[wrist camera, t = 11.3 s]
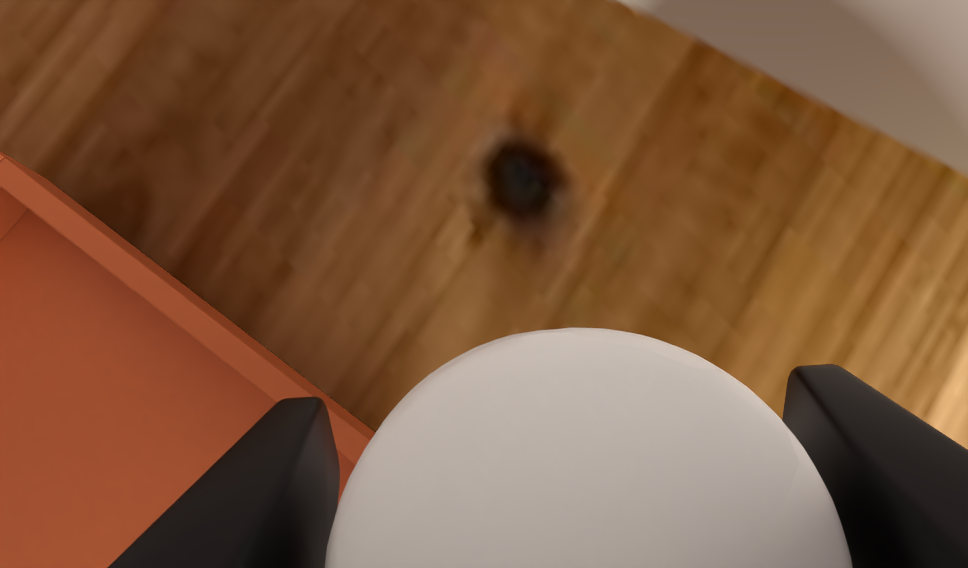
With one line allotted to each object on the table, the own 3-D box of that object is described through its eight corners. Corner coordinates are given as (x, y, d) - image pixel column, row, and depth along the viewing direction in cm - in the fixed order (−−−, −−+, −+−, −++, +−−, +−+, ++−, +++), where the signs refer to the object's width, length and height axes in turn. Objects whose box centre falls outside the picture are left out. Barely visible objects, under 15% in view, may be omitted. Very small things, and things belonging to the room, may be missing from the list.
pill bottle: (416, 384, 15) (280, 274, 7) (686, 383, 15) (874, 267, 7) (410, 673, 14) (242, 940, 6) (701, 678, 14) (944, 962, 6)
